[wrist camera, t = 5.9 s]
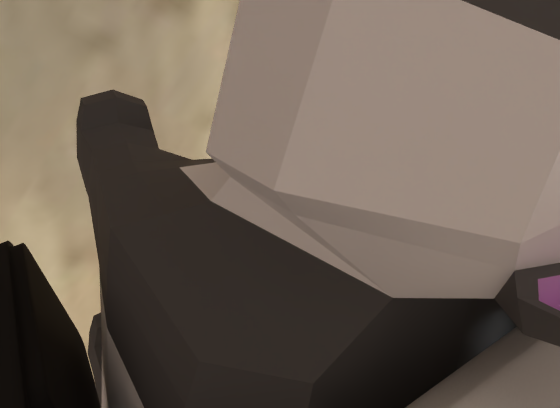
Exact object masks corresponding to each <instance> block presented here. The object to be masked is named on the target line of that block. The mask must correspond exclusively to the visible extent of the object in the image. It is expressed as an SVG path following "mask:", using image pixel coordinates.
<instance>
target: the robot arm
mask: <svg viewBox="0 0 560 408" xmlns="http://www.w3.org/2000/svg"><path fill="white" fill-rule="evenodd" d="M0 408H101V405H100V401H99V398H98V394H97V390H96V387H95V383H94V379H93V375H92V372H91V368H90V364H89V361H88V357H87V353H86V349H85V346H84V343H83V341H82V338H81V336H80V334H79V332H78V330H77V329H76V327H75V325H74V324H73V322H72V320H71V319H70V317H69V315H68V314H67V312H66V310H65V309H64V307H63V306H62V304H61V302H60V301H59V299H58V297H57V296H56V294H55V292H54V291H53V289H52V287H51V286H50V284H49V282H48V281H47V279H46V277H45V276H44V274H43V273H42V271H41V269H40V268H39V266H38V264H37V263H36V261H35V259H34V258H33V256H32V254H31V253H30V251H29V249H28V248H27V246H26V245H25V244H24V243H22V244H19V245H17V246H13V245H12V243H11V242H9V241H6V242H3V243H1V244H0ZM405 408H560V347H559V346H556V345H553V344H550V343H547V342H544V341H541V340H538V339H535V338H532V337H529V336H526V335H523V334H522V332H521V331H520V330H519V329H518V327H516V328H514V329H513V330H512V331H510V332H509V333H507V334H506V335H505V336H503V337H502V338H500V339H499V340H498V341H496V342H495V343H493V344H492V345H491V346H489V347H488V348H487V349H485V350H484V351H482V352H481V353H480V354H478V355H477V356H475V357H474V358H473V359H471V360H470V361H469V362H467V363H466V364H464V365H463V366H462V367H460V368H459V369H458V370H456V371H455V372H453V373H452V374H451V375H449V376H448V377H447V378H445V379H444V380H442V381H441V382H440V383H438V384H437V385H435V386H434V387H433V388H431V389H430V390H429V391H427V392H426V393H424V394H423V395H422V396H420V397H419V398H418V399H416V400H415V401H413V402H412V403H411V404H409V405H408V406H407V407H405Z"/></svg>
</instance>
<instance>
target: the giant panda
mask: <svg viewBox="0 0 560 408" xmlns="http://www.w3.org/2000/svg"><path fill="white" fill-rule="evenodd" d="M206 153H207V154H208V155H209V156H210V157H211V158H212V159H199V160H191V159H188V158H185V157H182V156H179V155H176V154H173V153H169V152H166V151H163V150H160V149H159V148H158V144H157V141H156V138H155V135H154V131H153V128H152V124H151V120H150V117H149V113H148V109H147V106H146V104H145V103H144V101H143V100H141V99H139V98H136V97H133V96H130V95H127V94H124V93H121V92H118V91H115V90H110V91H106V92H102V93H98V94H95V95H91V96H87V97H83V98H81V101H80V106H79V111H78V116H77V159H78V163H79V166H80V170H81V173H82V177H83V181H84V184H85V188H86V191H87V194H88V197H89V203H90V209H91V215H92V222H93V228H94V234H95V240H96V247H97V253H98V259H99V268H100V297H101V313H99V314H97V315H94V317H93V321H92V324H91V328H90V332H89V345H88V356H89V360H90V363H91V367H92V371H93V374H94V379H95V385H96V390H97V394H98V398H99V401H100V405H101V408H405V407H407V406H408V405H409V404H411V403H412V402H413V401H415V400H416V399H418V398H419V397H420V396H422V395H423V394H424V393H426V392H427V391H429V390H430V389H431V388H433V387H434V386H435V385H437V384H438V383H440V382H441V381H442V380H444V379H445V378H447V377H448V376H449V375H451V374H452V373H453V372H455V371H456V370H458V369H459V368H460V367H462V366H463V365H464V364H466V363H467V362H469V361H470V360H471V359H473V358H474V357H475V356H477V355H478V354H480V353H481V352H482V351H484V350H485V349H487V348H488V347H489V346H491V345H492V344H493V343H495V342H496V341H498V340H499V339H500V338H502V337H503V336H505V335H506V334H507V333H509V332H510V331H512V330H513V329H514V328H516V327H518V329H519V330H520V331H521V332H522V334H523V335H526V336H529V337H532V338H535V339H538V340H541V341H544V342H547V343H550V344H553V345H556V346H559V347H560V0H240V2H239V6H238V11H237V15H236V20H235V24H234V28H233V33H232V37H231V42H230V46H229V51H228V55H227V60H226V64H225V69H224V73H223V78H222V82H221V87H220V91H219V96H218V100H217V105H216V109H215V113H214V118H213V122H212V127H211V131H210V136H209V140H208V145H207V149H206Z"/></svg>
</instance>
